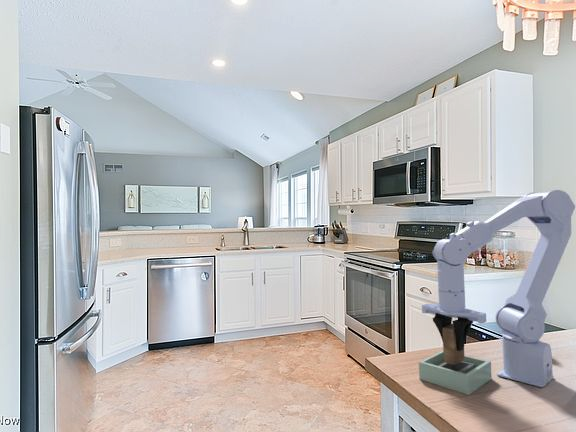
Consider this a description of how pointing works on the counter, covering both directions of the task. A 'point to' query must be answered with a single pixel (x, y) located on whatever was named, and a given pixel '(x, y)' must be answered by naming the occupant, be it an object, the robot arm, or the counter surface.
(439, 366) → the sage green storage tray
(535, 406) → the counter surface
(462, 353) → the wood grain brick
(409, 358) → the counter surface
